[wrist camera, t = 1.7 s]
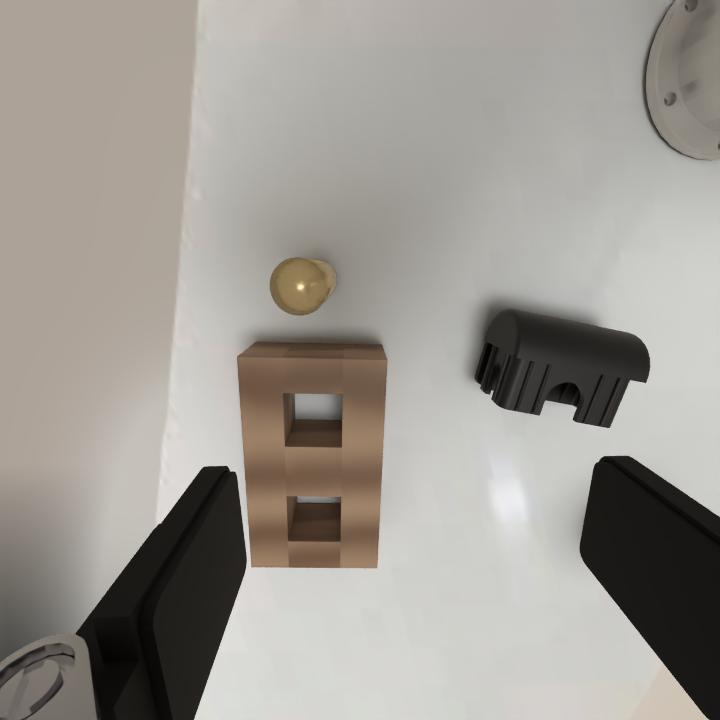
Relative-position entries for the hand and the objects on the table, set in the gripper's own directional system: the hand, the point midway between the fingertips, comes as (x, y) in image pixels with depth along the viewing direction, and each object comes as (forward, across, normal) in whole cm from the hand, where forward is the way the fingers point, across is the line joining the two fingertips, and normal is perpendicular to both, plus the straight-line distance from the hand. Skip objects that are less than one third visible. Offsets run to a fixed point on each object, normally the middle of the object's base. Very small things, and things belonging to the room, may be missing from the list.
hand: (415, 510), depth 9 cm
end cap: (+22, -14, +2) cm, 27 cm away
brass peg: (+22, +4, -5) cm, 23 cm away
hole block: (+22, +5, +10) cm, 25 cm away
